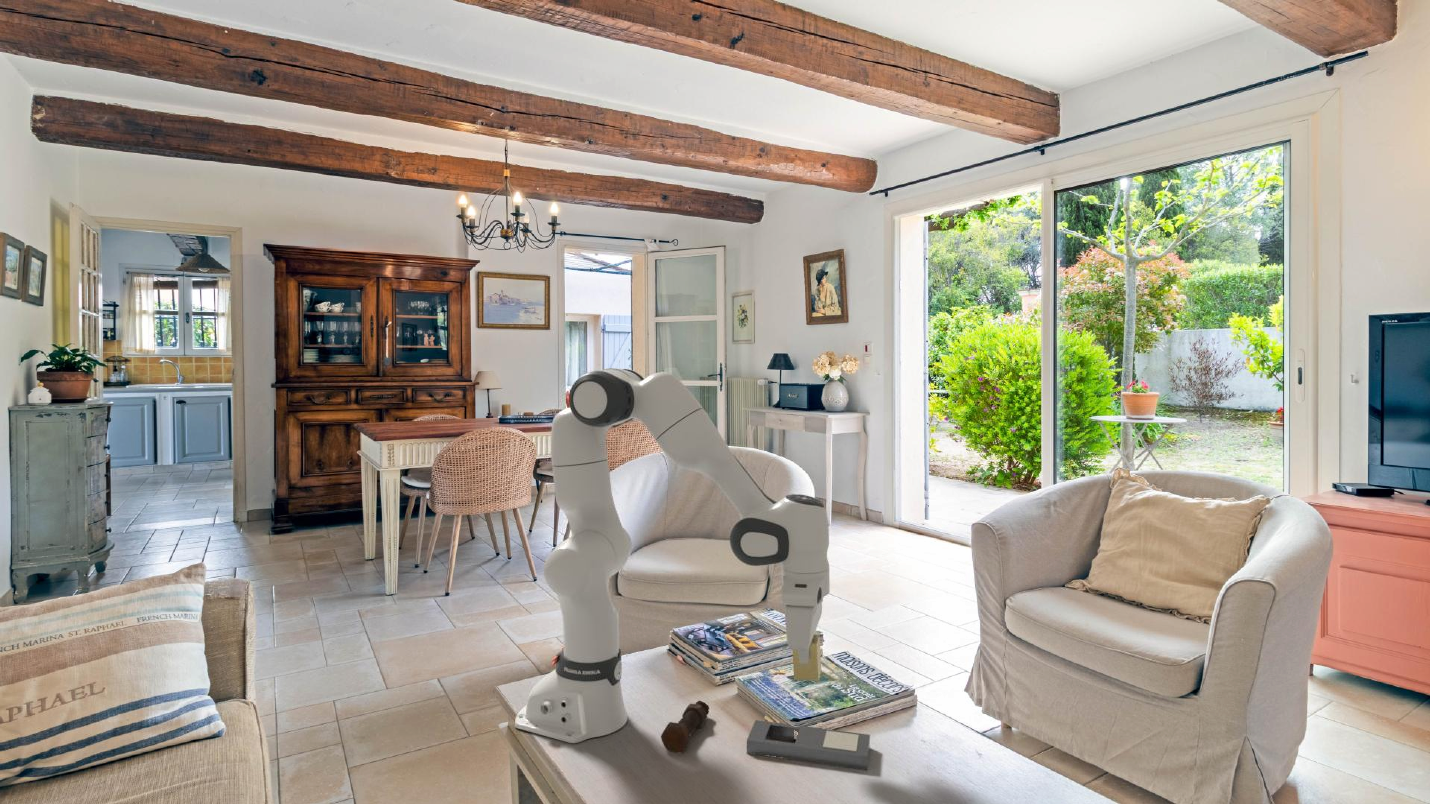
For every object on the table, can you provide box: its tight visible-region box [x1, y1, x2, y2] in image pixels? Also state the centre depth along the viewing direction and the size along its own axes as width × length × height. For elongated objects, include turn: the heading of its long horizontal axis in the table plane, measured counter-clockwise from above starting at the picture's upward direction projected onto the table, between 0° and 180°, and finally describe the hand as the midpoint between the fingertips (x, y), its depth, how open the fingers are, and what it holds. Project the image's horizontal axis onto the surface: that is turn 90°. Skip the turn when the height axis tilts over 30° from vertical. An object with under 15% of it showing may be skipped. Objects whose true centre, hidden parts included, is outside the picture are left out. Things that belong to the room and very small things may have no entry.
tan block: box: [792, 634, 822, 682], centre depth 138 cm, size 4×4×7 cm
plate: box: [746, 719, 871, 771], centre depth 139 cm, size 22×8×3 cm, turn 75°
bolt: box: [660, 700, 710, 754], centre depth 145 cm, size 6×5×15 cm
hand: (806, 656), depth 138 cm, fingers closed on tan block, 4 cm apart
